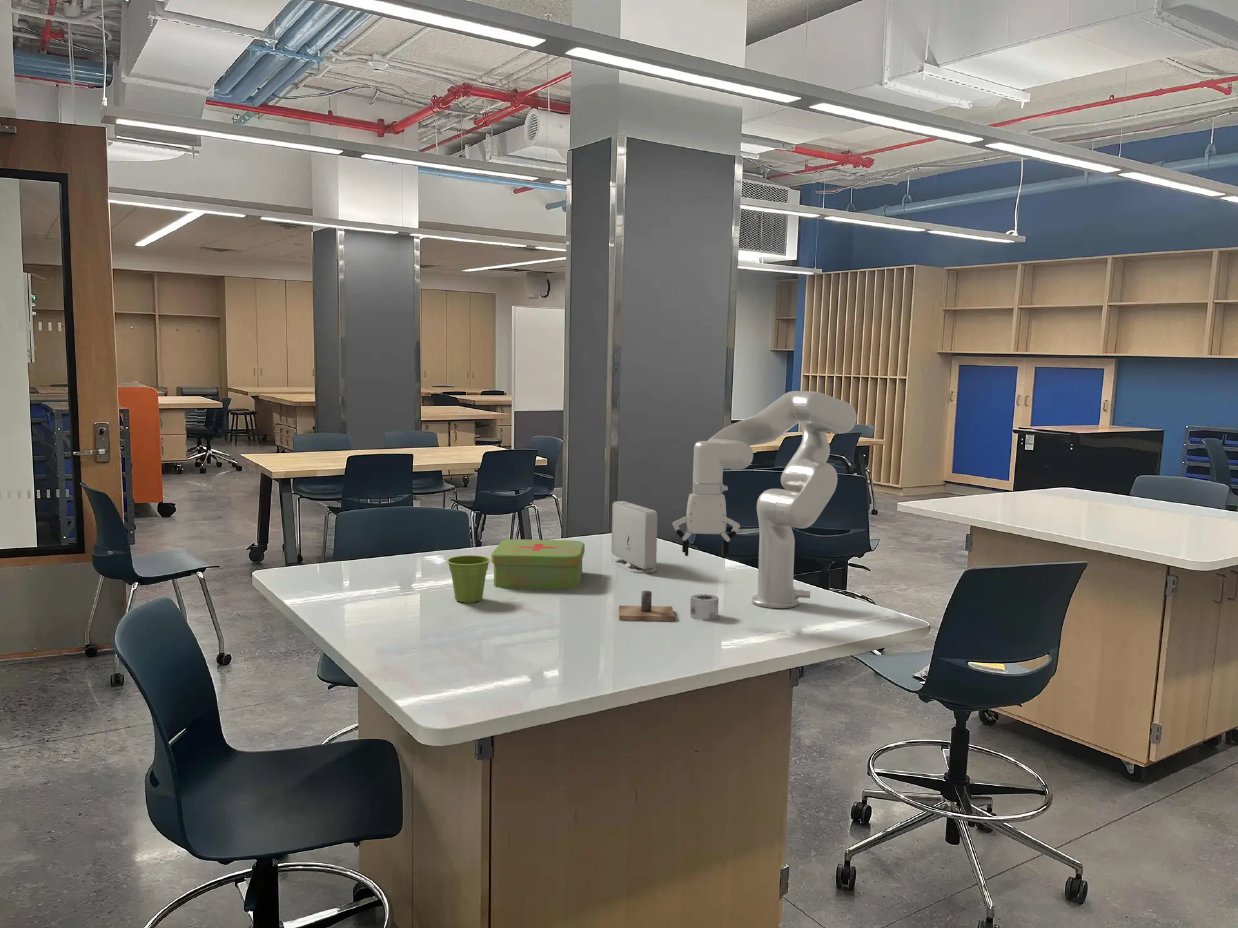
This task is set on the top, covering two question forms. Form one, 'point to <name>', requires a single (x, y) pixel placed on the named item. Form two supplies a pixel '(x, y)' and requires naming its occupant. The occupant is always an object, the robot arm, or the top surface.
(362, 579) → the top surface
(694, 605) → the steel ring
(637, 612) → the post block
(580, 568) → the first aid kit
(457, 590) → the plant pot
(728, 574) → the top surface
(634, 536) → the network device
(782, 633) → the top surface
